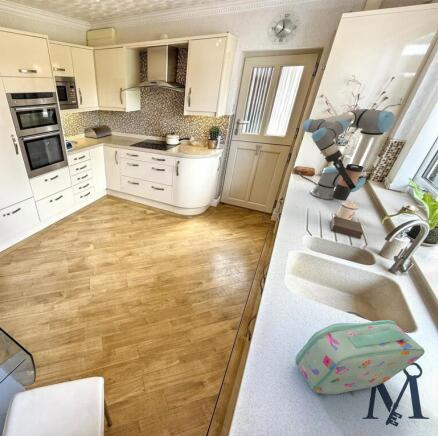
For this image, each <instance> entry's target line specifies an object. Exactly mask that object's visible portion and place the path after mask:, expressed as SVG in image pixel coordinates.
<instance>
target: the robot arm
mask: <svg viewBox="0 0 438 436" xmlns="http://www.w3.org/2000/svg"><path fill="white" fill-rule="evenodd" d="M394 122H395V114H394V112H392V111H389V110H381V109H370V108H369V109H368V108H361V109H360V108H359V109H354V110H349V111H345V112H342V113H341V114H338V115H337V114H336V115H332V116H328V117H323V118H319V119H313V118H308V119H306V120H305V121H304V122H303V123H302V127H301V129H302V131H303V132H306V133H308V134H309V133H310V137H311V139H312V142H313V143H314V144H315V146H316V147H317V148H318V150H319V151H320V152H319V154H320V155H322V156H323V157H324V159H325V162H327V163H332V165H333V166H328V167H324V168H323V170H322V172H321V174H320V177H319V179H318V182H317V183H316V182H315V181H313V180H312V179H310V178H308V177H306V176H304V175H302V174H301V173H302V172H301V171H300V172H299V176H300V177H302V178H304V179H306V180H308V181H309V182H312V183H314V185H315V186H314V188H312V189H311V192H310V194H311V195H312V196H313V197H316V198H319V199H323V200H332V199H334V198H333V197H332V195H333V193H334V191H335V188H336V186H337V184H338V182H339V180H340V178H341V176H342V178H343V181H345V182H346V184H347V185H348V187H349V188H350V190H351V189H352V191H351V193H355V192H357V191H359V190H360V189H361V188H363V186H364V185H365V183H366V182H367V181H366V180H367V178H366V177H364V176H365V173H364V170H365V168H366V165H367V163H368V161H369V159H370V157H371V154H372V152H373V150H374V148H375V145H376V144H377V142H378V139H379V137H381V136H383V135H384V133H387V132H389V131H390V129H391V128H392V126H393V124H394ZM348 128H355V129H359V130H360V131H359V134H360V138H359V140H358V143H357V144H356V145H357V146H356V148H355V150H354V153H353V154H352V157H351V159H350V162H349V164H355V165H359V166H362V167H364V168H363V170H362V172H361V174H360V176H359V178H358V180H357V182H356V183H355V185H354V183H353V182H352V180H351V178H350V177H349V176H348V174H347V173H346V171H345V168H346V166H345V165H344V162H343V161H342V160H343V159H341V157H342V156H343V153H342V151H341V150H340V148H339V147H338V144H336V143H335V141H334V140H335V139H337V138H338V137H339V136H341V135H343V134H344V132H346V131H347V130H348Z"/></svg>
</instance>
